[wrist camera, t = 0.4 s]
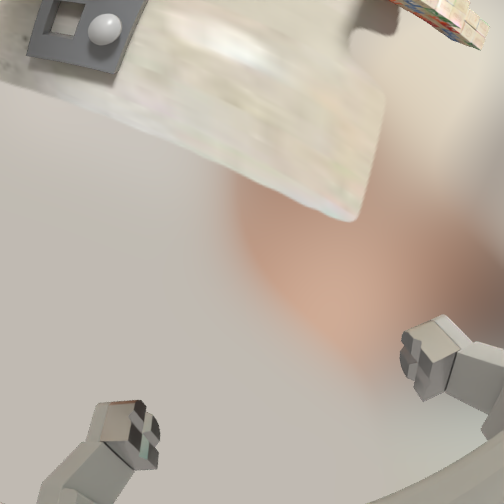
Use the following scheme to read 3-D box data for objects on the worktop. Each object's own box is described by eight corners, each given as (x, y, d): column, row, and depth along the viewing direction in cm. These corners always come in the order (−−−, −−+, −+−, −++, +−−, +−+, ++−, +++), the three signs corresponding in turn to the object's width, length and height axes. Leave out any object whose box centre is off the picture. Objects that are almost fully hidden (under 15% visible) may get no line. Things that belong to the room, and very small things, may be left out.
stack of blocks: (459, 17, 36) (501, 31, 27) (451, 40, 40) (492, 56, 31) (375, -38, 30) (414, -41, 21) (365, -12, 34) (403, -11, 26)
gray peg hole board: (34, 52, 34) (17, 59, 30) (59, -24, 25) (43, -25, 21) (118, 70, 42) (108, 78, 37) (152, -8, 33) (144, -10, 28)
